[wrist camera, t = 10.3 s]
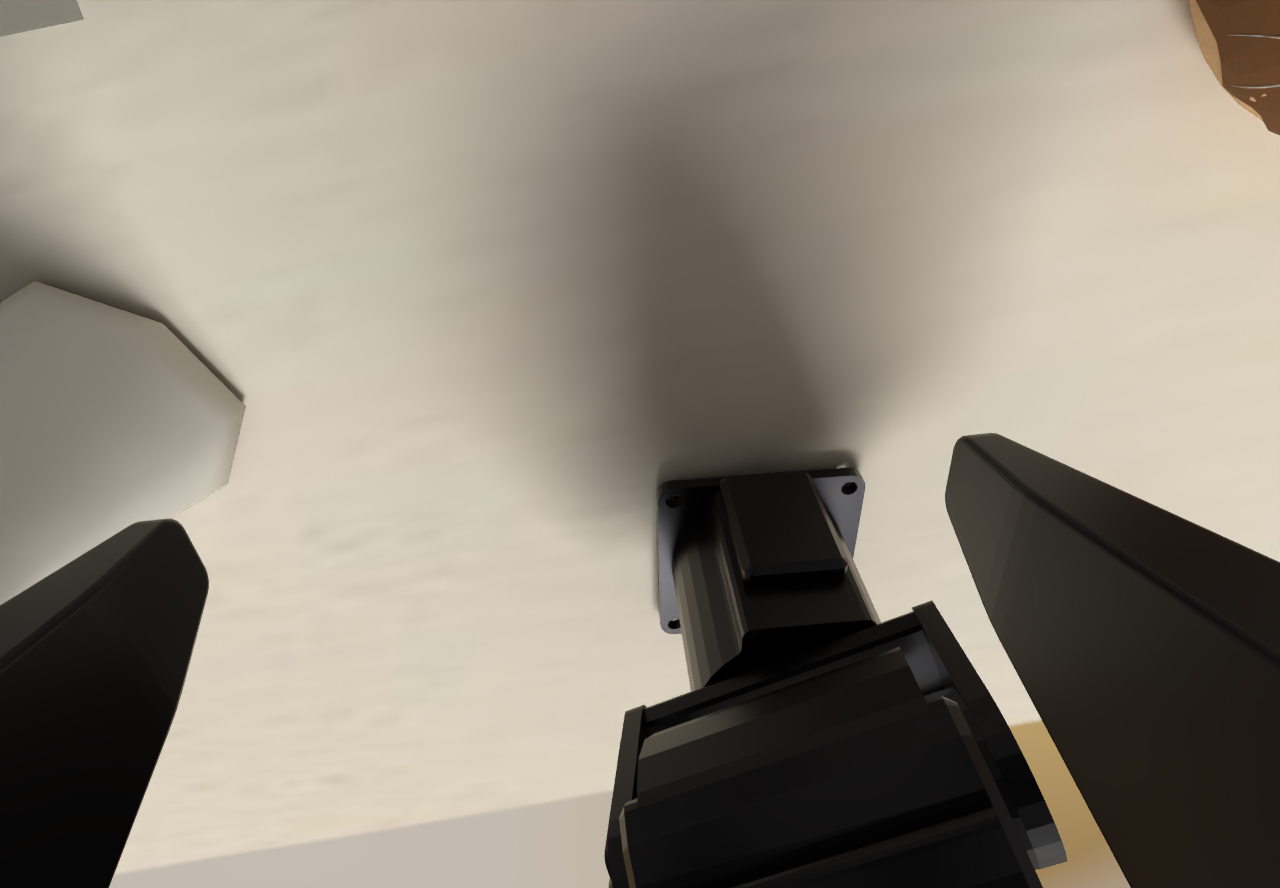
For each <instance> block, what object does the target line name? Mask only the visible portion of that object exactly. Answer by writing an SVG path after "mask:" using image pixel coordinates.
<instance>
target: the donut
mask: <svg viewBox="0 0 1280 888" xmlns="http://www.w3.org/2000/svg"><path fill="white" fill-rule="evenodd" d="M1189 5H1190V10H1191V15H1192V21H1193V26H1194V31H1195V35H1196V38H1197V40H1198V43H1199V45H1200V48H1201V51H1202V53H1203V56H1204V58H1205V60H1206V62H1207V63H1208V65H1209V67H1210V68H1211V70H1212V71H1213V73H1214V75H1215V76H1216V78H1217V80H1218V81H1219V83H1220V84H1221V86H1222V87H1223V88H1224V89H1225V90H1226V91H1227V92H1228V93H1229V94H1230V95H1231V96H1232V97H1233V98H1234V100H1235V101H1236V102H1237V103H1238V104H1239V105H1240V106H1242V107H1243V108H1245V109H1246V110H1248V111H1249V112H1250V113H1252V114H1253V115H1255V116H1256V117H1258V118H1259V119H1261V120H1262V121H1264V123H1265V125H1266V127H1267V128H1268V130H1269V131H1271V132H1273V133H1276V134H1278V135H1280V0H1189Z"/></svg>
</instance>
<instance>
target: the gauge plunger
mask: <svg viewBox="0 0 1280 888" xmlns="http://www.w3.org/2000/svg"><path fill="white" fill-rule="evenodd" d="M78 20H83V16H82V14H81V11H80V8H79V6H78V3H77V1H76V0H0V36H5V35H9V34H14V33H19V32H24V31H29V30H34V29H39V28H44V27H48V26H53V25H58V24H63V23H68V22H73V21H78Z"/></svg>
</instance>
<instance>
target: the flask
mask: <svg viewBox="0 0 1280 888" xmlns="http://www.w3.org/2000/svg"><path fill="white" fill-rule="evenodd" d="M245 407H246V406H245V405H244V404H243V403H242V402H241V401H240V400H239V399H238V398H237V397H236V396H235V395H234V394H233V393H232V392H231V391H230V390H229V389H228V388H227V387H226V386H225V385H224V384H223V383H222V382H221V381H220V380H219V379H218V378H217V377H216V376H215V375H214V374H213V373H212V372H211V371H210V370H209V369H208V368H207V367H206V366H205V365H204V364H203V363H202V362H201V361H200V360H199V359H198V358H197V357H196V356H195V355H194V354H193V353H192V352H191V351H190V350H189V349H188V348H187V347H186V346H185V345H184V344H183V343H182V342H181V341H180V340H179V339H178V338H177V337H176V336H175V335H174V334H173V333H172V332H171V331H170V330H169V329H168V328H167V327H166V326H165V325H164V324H163V323H160V322H157V321H154V320H151V319H148V318H145V317H142V316H139V315H136V314H133V313H130V312H127V311H124V310H121V309H118V308H115V307H112V306H109V305H106V304H103V303H100V302H97V301H94V300H91V299H88V298H85V297H82V296H79V295H76V294H73V293H70V292H67V291H64V290H61V289H58V288H55V287H52V286H49V285H46V284H43V283H40V282H37V281H33V282H32V283H30V284H28V285H27V286H25V287H24V288H22V289H21V290H19V291H18V292H16V293H14V294H13V295H11V296H10V297H8V298H7V299H5V300H4V301H2V302H0V605H1V604H3V603H5V602H6V601H8V600H9V599H11V598H13V597H14V596H16V595H18V594H19V593H21V592H22V591H24V590H26V589H27V588H29V587H31V586H32V585H34V584H35V583H37V582H39V581H40V580H42V579H44V578H45V577H47V576H48V575H50V574H52V573H53V572H55V571H57V570H58V569H60V568H61V567H63V566H65V565H66V564H68V563H70V562H71V561H73V560H74V559H76V558H78V557H79V556H81V555H83V554H84V553H86V552H87V551H89V550H91V549H92V548H94V547H96V546H97V545H99V544H100V543H102V542H104V541H105V540H107V539H109V538H110V537H112V536H113V535H115V534H117V533H118V532H120V531H121V530H123V529H125V528H126V527H128V526H130V525H131V524H133V523H136V522H140V521H149V520H158V519H171V518H172V517H174V516H176V515H177V514H179V513H181V512H182V511H184V510H186V509H187V508H189V507H191V506H192V505H194V504H196V503H197V502H199V501H201V500H202V499H204V498H206V497H207V496H209V495H210V494H212V493H214V492H215V491H217V490H218V489H220V488H221V487H223V486H224V485H226V484H227V483H228V480H229V476H230V472H231V467H232V463H233V459H234V454H235V450H236V446H237V442H238V437H239V433H240V429H241V424H242V420H243V416H244V411H245Z"/></svg>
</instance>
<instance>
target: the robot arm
mask: <svg viewBox="0 0 1280 888" xmlns="http://www.w3.org/2000/svg"><path fill="white" fill-rule="evenodd" d="M848 482H852V484H851V485H849V486H847V487H842V486H843V485H844V484H846V483H848ZM864 491H865V482H864V480H863V478H862V476H861V474H860V473H859V472H858V471H857V470H855V469H853V468H840V469H826V470H812V471H795V472H782V473H768V474H755V475H741V476H729V477H717V478H704V479H690V480H676V481H669V482H666V483H664V484H662V485H661V486H660V487H659V489H658V490H657V535H658V575H659V615H660V624H661V628H662V630H663V631H664V632H666V633H669V634H681V633H682V638H683V644H684V650H685V656H686V663H687V669H688V675H689V681H690V688H691V692H689V693H686V694H683V695H680V696H678V697H675V698H672V699H669V700H667V701H664V702H661V703H658V704H656V705H653V706H650V707H646V706H645V705H642V706H640V707H637V708H634V709H631V710H629V711H626V712H625V717H624V724H623V731H622V737H621V742H620V749H619V756H618V763H617V770H616V777H615V784H614V791H613V798H612V804H611V811H610V818H609V826H608V833H607V840H606V847H605V864H606V867H607V870H608V873H609V876H610V880H609V888H1043V887H1042V885H1041V882H1040V881H1039V878H1038V876H1037V874H1036V872H1035V870H1036V869H1042V868H1045V867H1049V866H1052V865H1056V864H1059V863H1063V862H1066V861H1067V857H1066V852H1065V850H1064V847H1063V843H1062V841H1061V838H1060V835H1059V833H1058V830H1057V828H1056V825H1055V823H1054V820H1053V818H1052V816H1051V814H1050V811H1049V809H1048V807H1047V804H1046V802H1045V800H1044V798H1043V796H1042V794H1041V791H1040V789H1039V787H1038V785H1037V783H1036V780H1035V778H1034V776H1033V774H1032V772H1031V770H1030V768H1029V766H1028V764H1027V762H1026V760H1025V758H1024V756H1023V754H1022V752H1021V750H1020V748H1019V746H1018V744H1017V742H1016V740H1015V738H1014V736H1013V734H1012V732H1011V730H1010V728H1009V726H1008V725H1007V723H1006V721H1005V719H1004V717H1003V716H1002V714H1001V712H1000V710H999V708H998V707H997V705H996V703H995V702H994V700H993V698H992V696H991V695H990V693H989V691H988V690H987V688H986V687H985V685H984V683H983V682H982V680H981V679H980V677H979V675H978V674H977V672H976V671H975V669H974V667H973V666H972V664H971V662H970V661H969V659H968V658H967V656H966V654H965V653H964V651H963V650H962V648H961V646H960V645H959V643H958V641H957V640H956V638H955V637H954V635H953V633H952V632H951V630H950V629H949V627H948V625H947V624H946V622H945V620H944V619H943V617H942V616H941V614H940V612H939V611H938V609H937V608H936V606H935V604H934V603H933V601H929V602H926V603H924V604H921V605H918V606H915V607H913V608H912V610H913V612H910V613H907V614H904V615H902V616H899V617H896V618H893V619H891V620H888V621H885V622H882V623H881V621H880V619H879V617H878V615H877V612H876V610H875V608H874V606H873V603H872V601H871V599H870V597H869V594H868V592H867V590H866V588H865V585H864V583H863V581H862V579H861V576H860V574H859V572H858V570H857V568H856V565H855V563H854V561H853V555H854V549H855V544H856V538H857V532H858V526H859V520H860V515H861V509H862V503H863V497H864ZM672 495H678V496H679V497H678V498H677V499H674V500H669V499H667V498H668V497H669V496H672ZM945 502H946V508H947V512H948V515H949V517H950V520H951V523H952V525H953V528H954V530H955V533H956V535H957V538H958V541H959V543H960V546H961V548H962V551H963V554H964V556H965V559H966V561H967V564H968V566H969V569H970V572H971V574H972V577H973V579H974V582H975V585H976V587H977V590H978V592H979V595H980V597H981V600H982V603H983V605H984V607H985V610H986V612H987V614H988V617H989V619H990V622H991V624H992V626H993V628H994V630H995V632H996V634H997V636H998V638H999V640H1000V642H1001V643H1002V645H1003V647H1004V649H1005V651H1006V653H1007V655H1008V657H1009V659H1010V660H1011V662H1012V664H1013V666H1014V668H1015V670H1016V672H1017V674H1018V676H1019V677H1020V679H1021V681H1022V683H1023V685H1024V687H1025V689H1026V691H1027V693H1028V694H1029V696H1030V698H1031V700H1032V702H1033V704H1034V706H1035V708H1036V710H1037V711H1038V713H1039V715H1040V717H1041V719H1042V721H1043V723H1044V725H1045V726H1046V728H1047V730H1048V732H1049V734H1050V736H1051V738H1052V740H1053V741H1054V743H1055V745H1056V747H1057V749H1058V751H1059V753H1060V755H1061V757H1062V759H1063V760H1064V762H1065V764H1066V766H1067V768H1068V770H1069V771H1070V774H1071V775H1072V777H1073V779H1074V781H1075V783H1076V785H1077V787H1078V789H1079V790H1080V793H1081V794H1082V796H1083V798H1084V800H1085V802H1086V804H1087V806H1088V808H1089V809H1090V811H1091V813H1092V815H1093V817H1094V819H1095V821H1096V823H1097V825H1098V827H1099V828H1100V830H1101V832H1102V834H1103V836H1104V838H1105V840H1106V842H1107V844H1108V845H1109V847H1110V849H1111V851H1112V853H1113V855H1114V857H1115V859H1116V860H1117V862H1118V864H1119V866H1120V868H1121V870H1122V872H1123V874H1124V876H1125V877H1126V879H1127V881H1128V883H1129V885H1130V887H1131V888H1280V562H1278V561H1276V560H1274V559H1272V558H1269V557H1267V556H1265V555H1263V554H1261V553H1258V552H1256V551H1254V550H1252V549H1250V548H1247V547H1245V546H1243V545H1241V544H1239V543H1236V542H1234V541H1232V540H1230V539H1228V538H1225V537H1223V536H1221V535H1219V534H1217V533H1214V532H1212V531H1210V530H1208V529H1206V528H1203V527H1201V526H1199V525H1197V524H1195V523H1192V522H1190V521H1188V520H1186V519H1184V518H1181V517H1179V516H1177V515H1175V514H1173V513H1170V512H1168V511H1166V510H1164V509H1162V508H1159V507H1157V506H1155V505H1153V504H1151V503H1148V502H1146V501H1144V500H1142V499H1140V498H1137V497H1135V496H1133V495H1131V494H1129V493H1126V492H1124V491H1122V490H1120V489H1118V488H1115V487H1113V486H1111V485H1109V484H1107V483H1104V482H1102V481H1100V480H1098V479H1096V478H1093V477H1091V476H1089V475H1087V474H1085V473H1082V472H1080V471H1078V470H1076V469H1074V468H1071V467H1069V466H1067V465H1065V464H1063V463H1060V462H1058V461H1056V460H1054V459H1052V458H1049V457H1047V456H1045V455H1043V454H1041V453H1038V452H1036V451H1034V450H1032V449H1030V448H1027V447H1025V446H1023V445H1021V444H1019V443H1016V442H1014V441H1012V440H1010V439H1008V438H1005V437H1003V436H1001V435H999V434H996V433H986V434H977V435H967V436H962V437H961V438H960V439H958V440H957V442H956V444H955V446H954V449H953V455H952V460H951V465H950V471H949V476H948V481H947V486H946V493H945ZM208 589H209V579H208V574H207V571H206V568H205V566H204V564H203V563H202V561H201V559H200V557H199V555H198V553H197V551H196V550H195V548H194V546H193V544H192V542H191V540H190V538H189V536H188V535H187V533H186V531H185V529H184V528H183V526H182V525H181V524H180V523H179V522H178V521H176V520H173V519H158V520H149V521H140V522H136V523H133V524H131V525H130V526H128V527H126V528H125V529H123V530H121V531H120V532H118V533H117V534H115V535H113V536H112V537H110V538H109V539H107V540H105V541H104V542H102V543H100V544H99V545H97V546H96V547H94V548H92V549H91V550H89V551H87V552H86V553H84V554H83V555H81V556H79V557H78V558H76V559H74V560H73V561H71V562H70V563H68V564H66V565H65V566H63V567H61V568H60V569H58V570H57V571H55V572H53V573H52V574H50V575H48V576H47V577H45V578H44V579H42V580H40V581H39V582H37V583H35V584H34V585H32V586H31V587H29V588H27V589H26V590H24V591H22V592H21V593H19V594H18V595H16V596H14V597H13V598H11V599H9V600H8V601H6V602H5V603H3V604H1V605H0V888H109V886H110V883H111V880H112V878H113V875H114V873H115V870H116V868H117V865H118V862H119V860H120V857H121V855H122V852H123V849H124V847H125V844H126V842H127V839H128V836H129V834H130V831H131V829H132V826H133V823H134V821H135V818H136V816H137V813H138V810H139V808H140V805H141V803H142V800H143V797H144V795H145V792H146V790H147V787H148V784H149V782H150V779H151V777H152V774H153V771H154V769H155V766H156V764H157V761H158V758H159V756H160V753H161V751H162V748H163V745H164V743H165V740H166V738H167V735H168V732H169V730H170V727H171V724H172V721H173V718H174V716H175V713H176V710H177V706H178V703H179V700H180V696H181V693H182V690H183V686H184V682H185V678H186V675H187V671H188V667H189V663H190V659H191V655H192V652H193V648H194V644H195V640H196V636H197V632H198V629H199V625H200V621H201V617H202V613H203V610H204V606H205V602H206V598H207V594H208ZM673 619H678V620H675V621H671V620H673Z"/></svg>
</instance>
